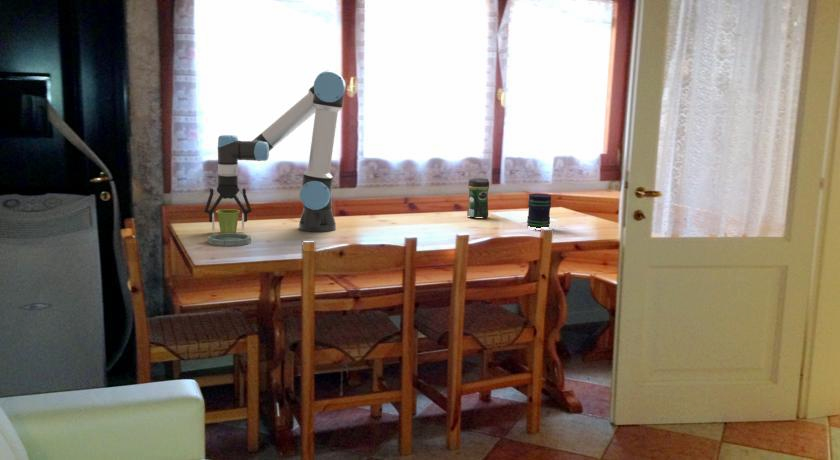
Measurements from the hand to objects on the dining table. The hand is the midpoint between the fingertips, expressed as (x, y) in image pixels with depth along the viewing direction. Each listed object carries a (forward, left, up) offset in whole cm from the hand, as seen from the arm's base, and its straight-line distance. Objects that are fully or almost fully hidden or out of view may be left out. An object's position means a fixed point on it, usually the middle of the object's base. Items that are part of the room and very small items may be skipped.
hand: (228, 230), depth 323 cm
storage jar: (-114, -67, -1) cm, 132 cm away
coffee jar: (-83, -85, -1) cm, 119 cm away
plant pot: (0, 0, -1) cm, 1 cm away
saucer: (-10, +17, -1) cm, 20 cm away
